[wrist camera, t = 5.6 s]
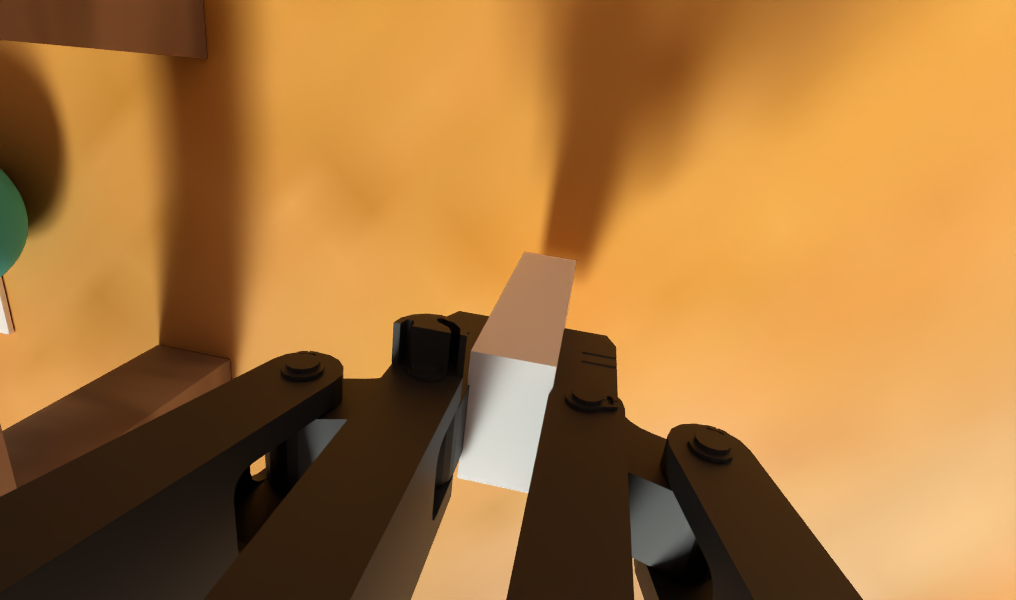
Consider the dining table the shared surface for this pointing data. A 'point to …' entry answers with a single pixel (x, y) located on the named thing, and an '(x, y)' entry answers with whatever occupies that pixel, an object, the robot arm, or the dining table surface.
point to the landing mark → (4, 313)
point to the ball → (11, 223)
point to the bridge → (161, 370)
